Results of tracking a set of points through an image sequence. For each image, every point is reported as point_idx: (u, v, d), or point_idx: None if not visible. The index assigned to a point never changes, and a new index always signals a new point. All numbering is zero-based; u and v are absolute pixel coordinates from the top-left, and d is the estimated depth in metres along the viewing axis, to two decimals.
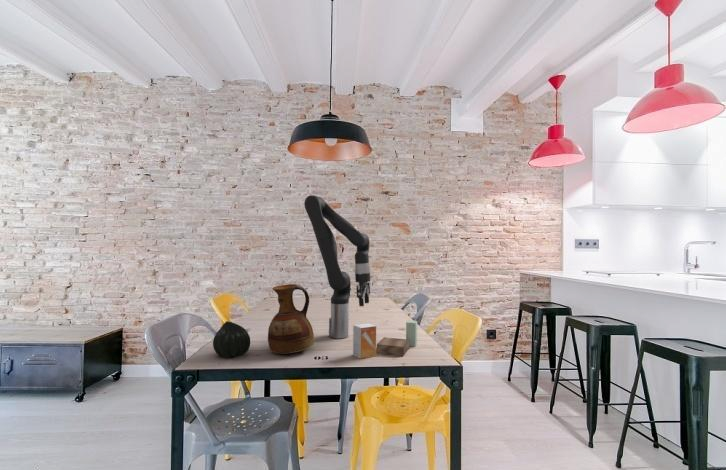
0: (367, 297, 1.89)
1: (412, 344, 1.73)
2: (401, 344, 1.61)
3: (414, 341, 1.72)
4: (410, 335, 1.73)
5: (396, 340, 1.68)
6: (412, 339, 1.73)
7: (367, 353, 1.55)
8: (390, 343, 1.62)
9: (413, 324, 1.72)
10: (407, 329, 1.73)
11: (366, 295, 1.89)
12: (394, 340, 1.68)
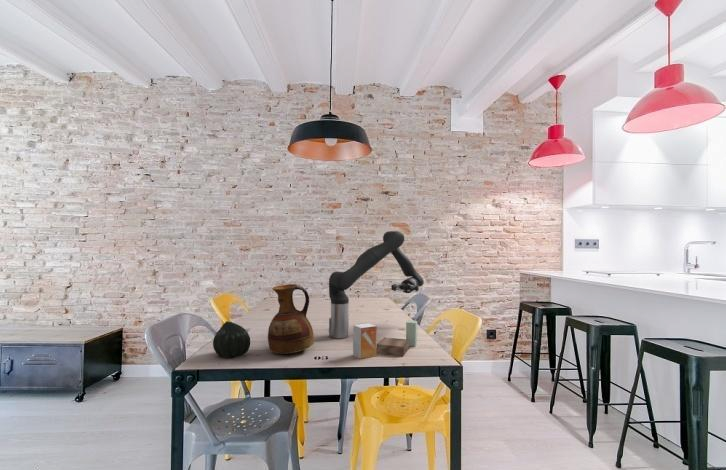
0: (396, 289, 1.95)
1: (412, 344, 1.73)
2: (401, 344, 1.61)
3: (414, 341, 1.72)
4: (410, 335, 1.73)
5: (396, 340, 1.68)
6: (412, 339, 1.73)
7: (367, 353, 1.55)
8: (390, 343, 1.62)
9: (413, 324, 1.72)
10: (407, 329, 1.73)
11: (396, 288, 1.96)
12: (394, 340, 1.68)
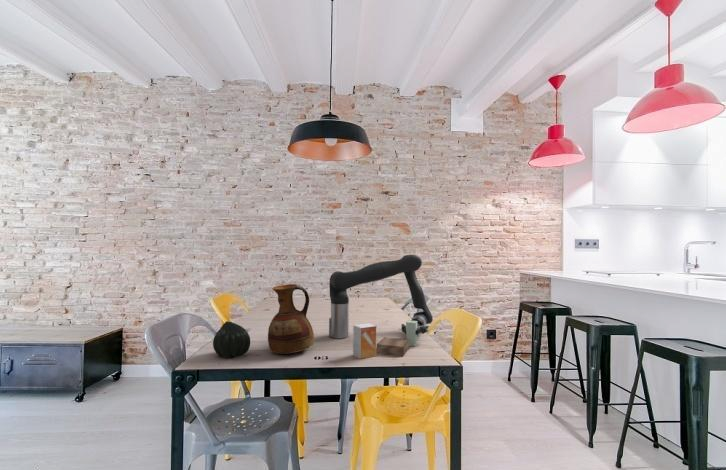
0: None
1: (412, 343, 1.73)
2: (401, 344, 1.61)
3: (414, 341, 1.72)
4: (410, 335, 1.73)
5: (396, 340, 1.68)
6: (412, 339, 1.73)
7: (367, 353, 1.55)
8: (390, 343, 1.62)
9: (413, 324, 1.72)
10: (407, 329, 1.73)
11: None
12: (394, 340, 1.68)
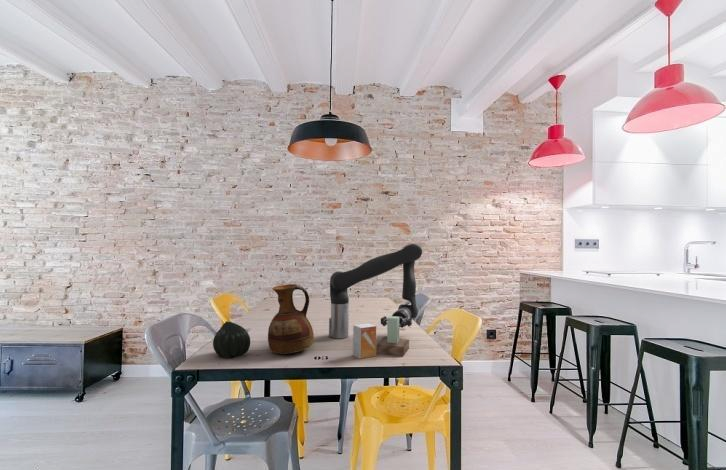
0: (386, 323, 1.68)
1: (393, 340, 1.63)
2: (401, 344, 1.61)
3: (396, 338, 1.63)
4: (391, 332, 1.64)
5: None
6: (393, 335, 1.63)
7: (367, 353, 1.55)
8: (390, 343, 1.62)
9: (395, 320, 1.63)
10: (388, 325, 1.64)
11: (386, 322, 1.69)
12: None
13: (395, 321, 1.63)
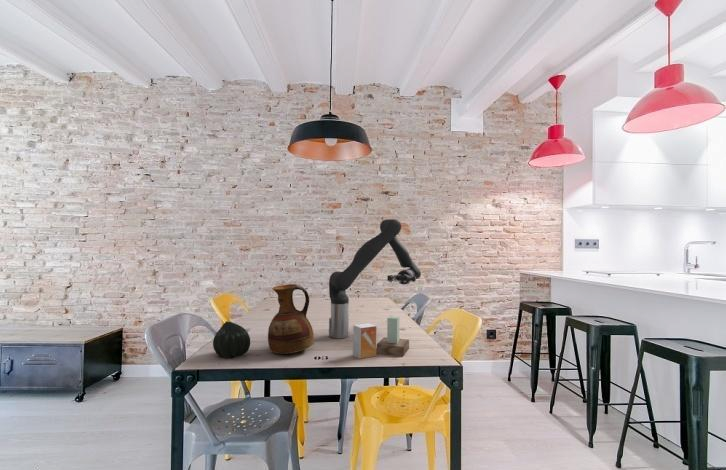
0: (392, 280, 1.88)
1: (393, 340, 1.63)
2: (401, 344, 1.61)
3: (396, 338, 1.63)
4: (391, 332, 1.64)
5: None
6: (393, 335, 1.63)
7: (367, 353, 1.55)
8: (390, 343, 1.62)
9: (394, 320, 1.63)
10: (388, 325, 1.64)
11: (392, 278, 1.89)
12: None
13: (395, 321, 1.63)
